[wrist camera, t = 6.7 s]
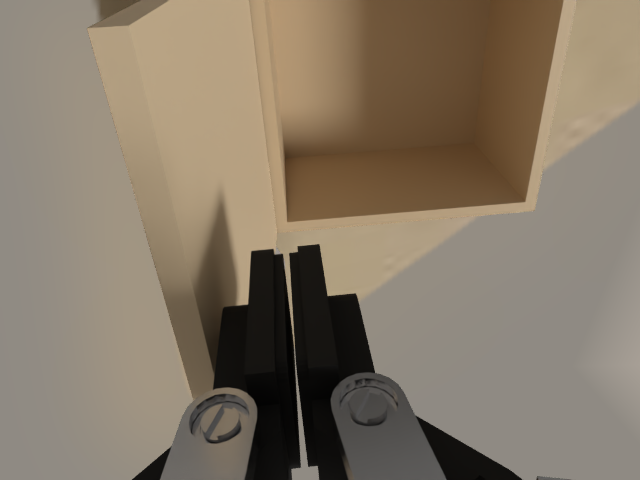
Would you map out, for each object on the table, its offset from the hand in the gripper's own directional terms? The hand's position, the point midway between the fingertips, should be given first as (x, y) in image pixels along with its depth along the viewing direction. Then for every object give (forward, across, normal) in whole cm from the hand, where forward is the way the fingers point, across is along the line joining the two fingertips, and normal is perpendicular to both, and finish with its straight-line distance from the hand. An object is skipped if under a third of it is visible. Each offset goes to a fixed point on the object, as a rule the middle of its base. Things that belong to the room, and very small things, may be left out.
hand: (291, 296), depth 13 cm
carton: (+22, -6, 0) cm, 23 cm away
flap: (+6, +1, 0) cm, 6 cm away
